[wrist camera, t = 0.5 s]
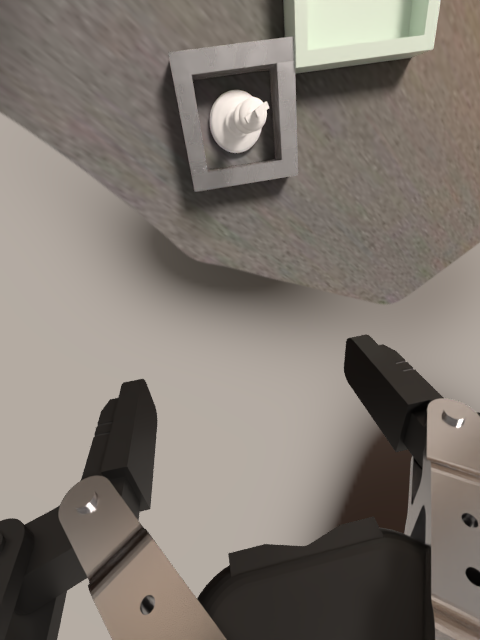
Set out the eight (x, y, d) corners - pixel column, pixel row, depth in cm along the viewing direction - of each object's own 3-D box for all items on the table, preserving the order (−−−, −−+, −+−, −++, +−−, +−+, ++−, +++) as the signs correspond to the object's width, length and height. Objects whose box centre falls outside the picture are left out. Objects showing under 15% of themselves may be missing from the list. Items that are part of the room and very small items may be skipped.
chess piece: (270, 133, 29) (307, 126, 20) (228, 163, 30) (246, 169, 21) (244, 76, 27) (274, 42, 18) (198, 111, 27) (206, 95, 19)
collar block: (169, 60, 25) (168, 52, 23) (285, 45, 26) (294, 36, 24) (194, 188, 30) (194, 191, 28) (290, 173, 31) (298, 175, 29)
